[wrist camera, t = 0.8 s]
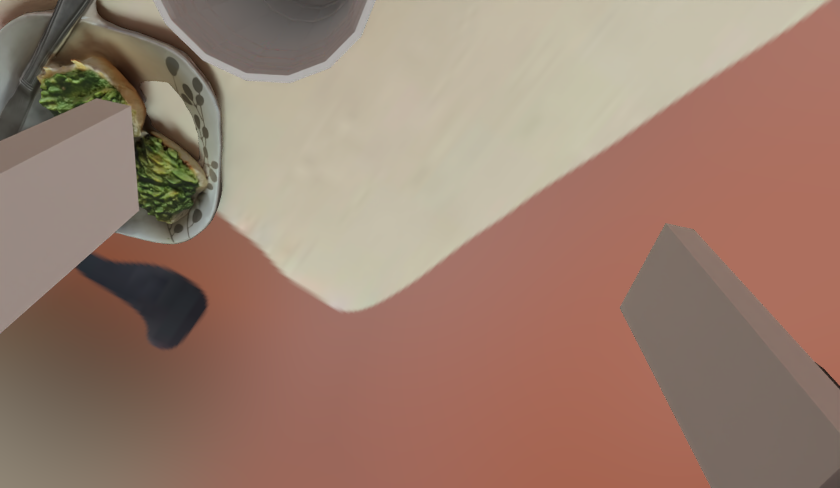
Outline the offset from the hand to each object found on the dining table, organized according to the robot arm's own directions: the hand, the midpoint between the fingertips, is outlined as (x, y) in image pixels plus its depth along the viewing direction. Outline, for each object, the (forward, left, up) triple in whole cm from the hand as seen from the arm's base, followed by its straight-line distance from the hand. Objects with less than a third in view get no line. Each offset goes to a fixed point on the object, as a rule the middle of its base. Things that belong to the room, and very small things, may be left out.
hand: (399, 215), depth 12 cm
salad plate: (+2, -25, -26) cm, 36 cm away
